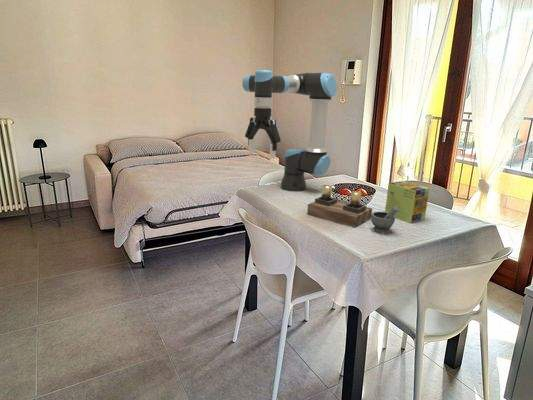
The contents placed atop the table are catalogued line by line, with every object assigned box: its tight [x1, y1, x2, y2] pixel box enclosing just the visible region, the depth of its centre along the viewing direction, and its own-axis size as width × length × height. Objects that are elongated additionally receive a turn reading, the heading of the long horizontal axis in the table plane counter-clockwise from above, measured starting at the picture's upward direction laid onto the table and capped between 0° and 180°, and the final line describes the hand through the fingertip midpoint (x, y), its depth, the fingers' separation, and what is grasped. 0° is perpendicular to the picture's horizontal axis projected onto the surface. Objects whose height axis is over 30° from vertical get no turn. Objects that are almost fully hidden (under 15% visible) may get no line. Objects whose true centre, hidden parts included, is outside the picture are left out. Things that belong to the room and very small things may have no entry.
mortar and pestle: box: [370, 206, 399, 234], centre depth 160 cm, size 11×9×12 cm
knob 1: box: [321, 184, 333, 198], centre depth 179 cm, size 4×4×5 cm
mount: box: [306, 195, 373, 228], centre depth 177 cm, size 16×25×7 cm, turn 50°
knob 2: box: [349, 190, 362, 205], centre depth 170 cm, size 4×4×5 cm
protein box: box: [384, 180, 431, 224], centre depth 178 cm, size 10×15×16 cm
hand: (261, 155), depth 171 cm, fingers open, 13 cm apart
